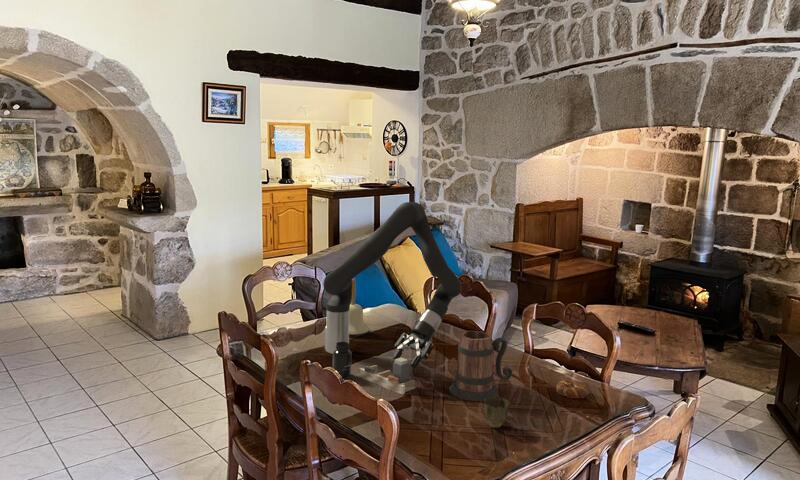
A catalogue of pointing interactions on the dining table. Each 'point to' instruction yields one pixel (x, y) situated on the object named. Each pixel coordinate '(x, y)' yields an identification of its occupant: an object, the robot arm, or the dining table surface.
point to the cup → (496, 411)
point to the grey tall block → (401, 370)
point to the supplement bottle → (342, 359)
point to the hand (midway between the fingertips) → (403, 363)
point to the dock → (386, 379)
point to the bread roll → (572, 389)
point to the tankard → (478, 366)
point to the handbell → (356, 315)
